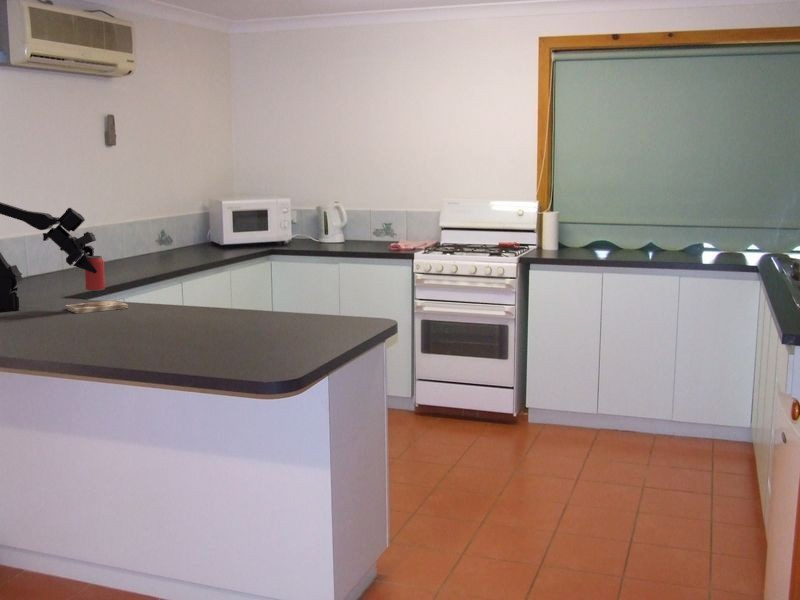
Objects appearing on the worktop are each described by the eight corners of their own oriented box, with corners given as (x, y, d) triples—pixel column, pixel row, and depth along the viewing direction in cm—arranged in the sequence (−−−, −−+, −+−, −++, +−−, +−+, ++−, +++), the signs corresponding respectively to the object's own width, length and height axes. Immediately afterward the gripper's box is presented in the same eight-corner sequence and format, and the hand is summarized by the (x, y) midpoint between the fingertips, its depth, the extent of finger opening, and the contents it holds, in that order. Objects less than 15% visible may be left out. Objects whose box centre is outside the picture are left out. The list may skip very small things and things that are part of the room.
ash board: (76, 313, 293) (76, 308, 293) (65, 309, 303) (65, 304, 303) (127, 308, 304) (127, 303, 304) (115, 304, 314) (115, 299, 314)
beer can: (82, 289, 304) (81, 256, 302) (100, 288, 308) (99, 255, 307) (90, 291, 299) (88, 257, 297) (108, 289, 303) (106, 256, 302)
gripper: (73, 226, 291) (108, 257, 294) (87, 223, 309) (119, 253, 312) (51, 249, 291) (86, 280, 294) (65, 245, 309) (98, 274, 312)
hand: (98, 271), depth 303 cm, fingers closed on beer can, 7 cm apart
